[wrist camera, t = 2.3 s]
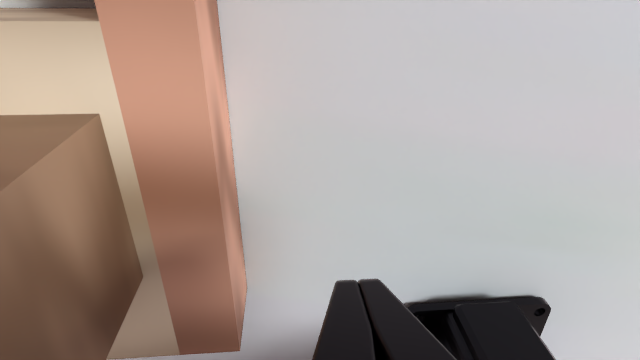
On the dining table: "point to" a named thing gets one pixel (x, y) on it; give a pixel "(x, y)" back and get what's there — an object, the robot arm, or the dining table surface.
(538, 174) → the dining table surface
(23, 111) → the board
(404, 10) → the dining table surface
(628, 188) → the dining table surface
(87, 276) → the walnut cube
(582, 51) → the dining table surface
